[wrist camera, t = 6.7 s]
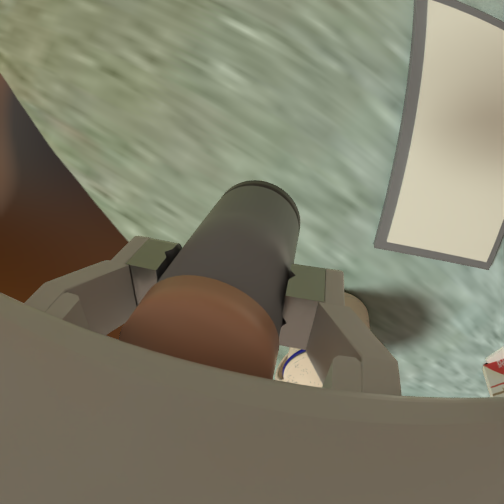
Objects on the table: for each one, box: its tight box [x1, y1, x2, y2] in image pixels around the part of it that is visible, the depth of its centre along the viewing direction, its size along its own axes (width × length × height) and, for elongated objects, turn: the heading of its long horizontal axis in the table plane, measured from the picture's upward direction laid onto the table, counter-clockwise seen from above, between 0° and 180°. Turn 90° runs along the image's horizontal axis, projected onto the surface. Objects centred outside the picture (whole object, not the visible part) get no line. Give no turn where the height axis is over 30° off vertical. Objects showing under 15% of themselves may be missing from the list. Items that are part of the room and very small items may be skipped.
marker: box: [119, 180, 300, 379], centre depth 10 cm, size 4×4×8 cm
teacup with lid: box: [275, 292, 370, 388], centre depth 32 cm, size 12×9×12 cm
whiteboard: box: [374, 0, 504, 270], centre depth 22 cm, size 25×14×1 cm, turn 176°
